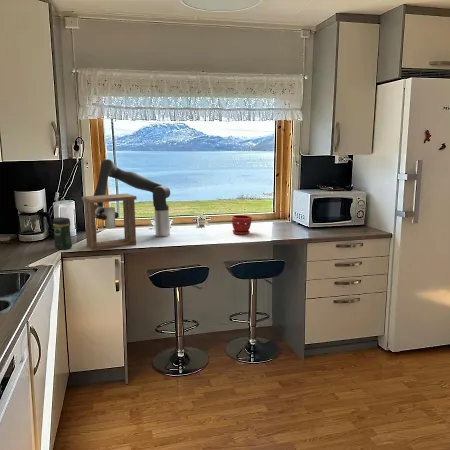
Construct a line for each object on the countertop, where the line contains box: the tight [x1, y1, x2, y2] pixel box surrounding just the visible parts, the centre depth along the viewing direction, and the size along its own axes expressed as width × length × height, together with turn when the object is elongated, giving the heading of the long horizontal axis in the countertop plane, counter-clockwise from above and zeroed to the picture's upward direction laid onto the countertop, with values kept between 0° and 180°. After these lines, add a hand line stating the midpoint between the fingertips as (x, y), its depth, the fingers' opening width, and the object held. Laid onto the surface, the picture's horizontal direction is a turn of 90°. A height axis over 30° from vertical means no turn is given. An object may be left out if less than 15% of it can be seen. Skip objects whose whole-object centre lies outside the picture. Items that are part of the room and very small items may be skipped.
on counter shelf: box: [81, 193, 138, 252], centre depth 260 cm, size 16×28×30 cm, turn 124°
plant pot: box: [231, 214, 252, 236], centre depth 295 cm, size 13×13×12 cm
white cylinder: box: [104, 206, 117, 230], centre depth 260 cm, size 6×6×12 cm
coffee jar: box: [52, 216, 73, 250], centre depth 255 cm, size 10×8×19 cm
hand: (111, 217), depth 258 cm, fingers closed on white cylinder, 6 cm apart
